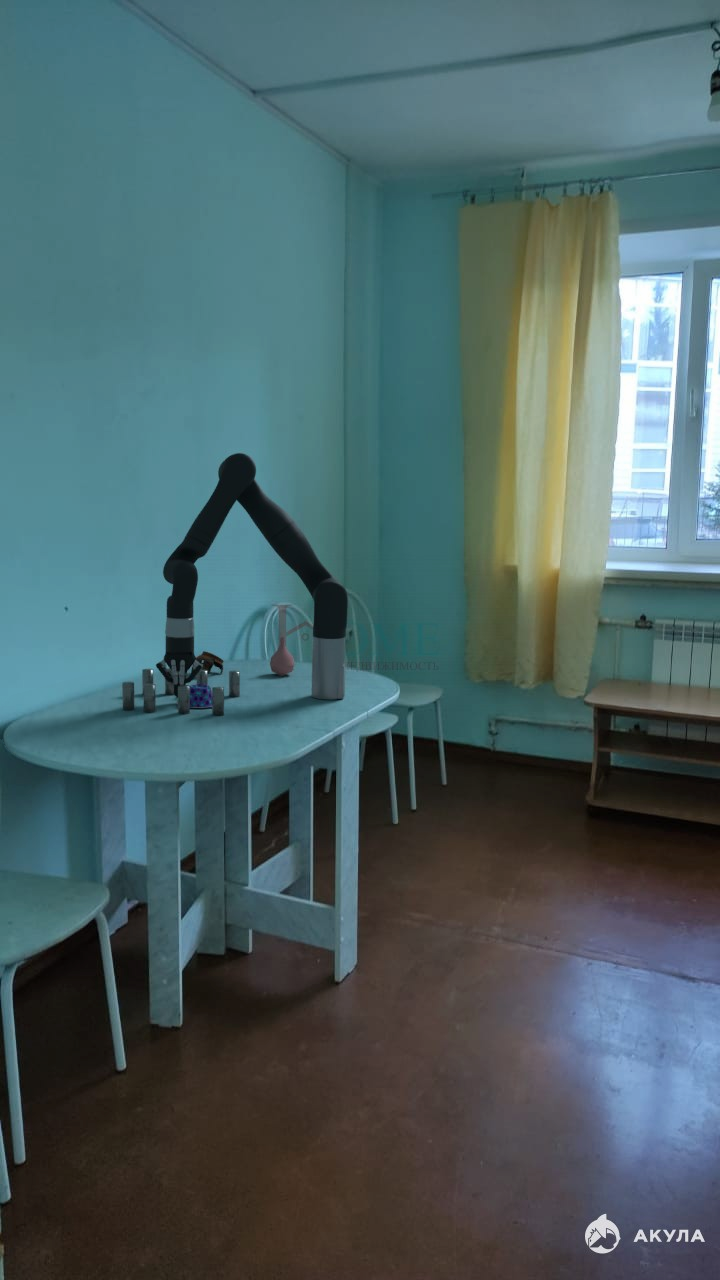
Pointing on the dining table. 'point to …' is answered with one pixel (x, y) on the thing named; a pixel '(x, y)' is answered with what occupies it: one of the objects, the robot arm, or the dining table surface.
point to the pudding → (200, 696)
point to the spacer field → (179, 692)
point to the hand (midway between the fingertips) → (179, 697)
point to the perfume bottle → (282, 660)
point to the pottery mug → (209, 661)
